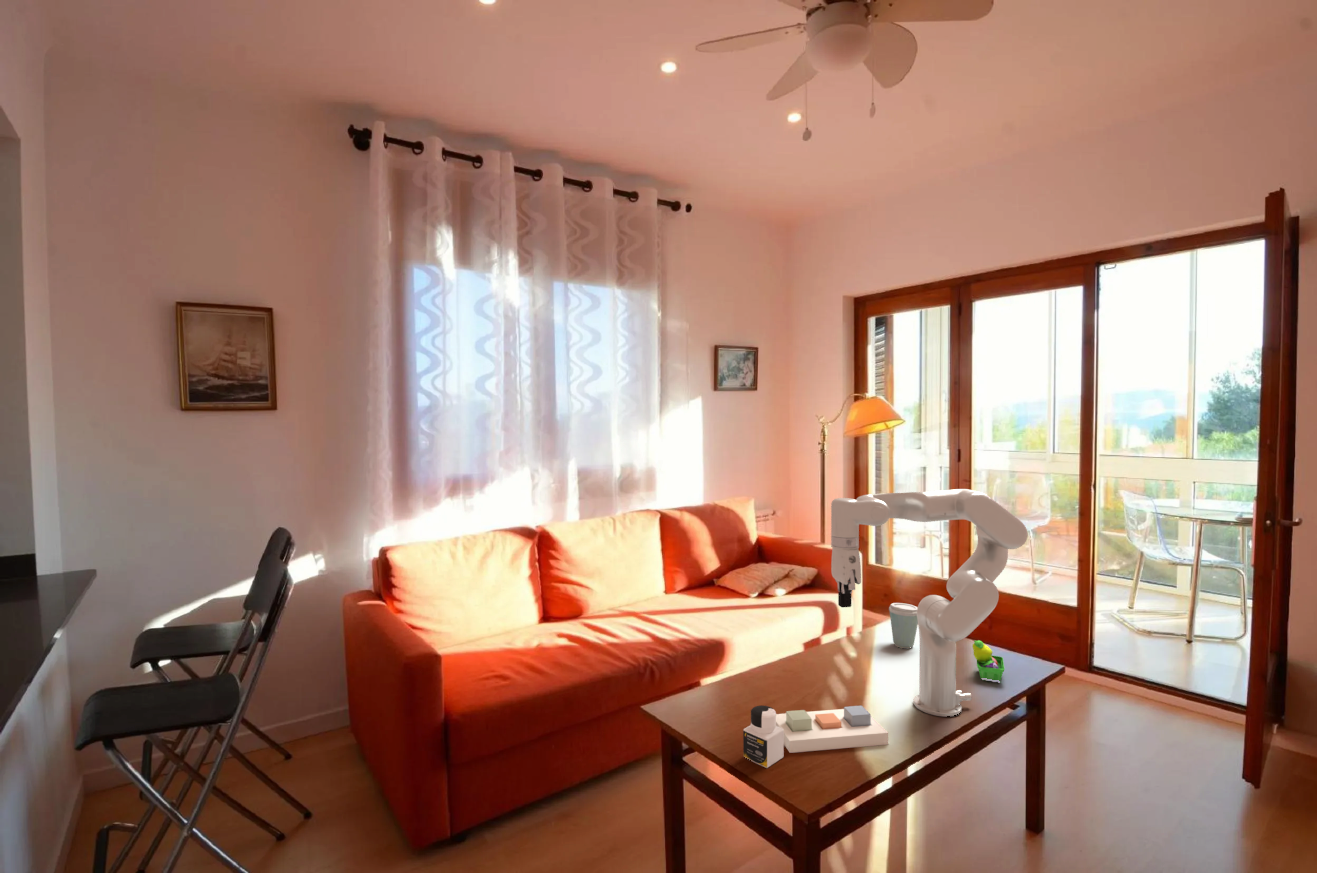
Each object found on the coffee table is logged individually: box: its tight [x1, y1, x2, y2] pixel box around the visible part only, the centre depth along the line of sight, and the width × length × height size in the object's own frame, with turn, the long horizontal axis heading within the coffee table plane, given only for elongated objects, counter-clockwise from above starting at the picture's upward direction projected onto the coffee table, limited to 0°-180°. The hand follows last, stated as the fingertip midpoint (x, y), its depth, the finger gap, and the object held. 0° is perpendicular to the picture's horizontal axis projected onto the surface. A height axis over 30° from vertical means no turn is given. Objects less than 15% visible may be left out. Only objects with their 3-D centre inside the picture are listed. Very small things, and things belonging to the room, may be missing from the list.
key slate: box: [843, 705, 872, 727], centre depth 165 cm, size 5×5×4 cm
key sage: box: [785, 709, 812, 732], centre depth 163 cm, size 5×5×4 cm
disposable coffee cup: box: [888, 602, 918, 649], centre depth 227 cm, size 11×11×15 cm
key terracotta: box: [815, 713, 841, 729], centre depth 164 cm, size 5×5×4 cm
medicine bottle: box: [742, 705, 785, 769], centre depth 154 cm, size 7×7×12 cm
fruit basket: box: [972, 640, 1005, 682], centre depth 200 cm, size 11×9×11 cm
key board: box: [776, 708, 889, 754], centre depth 164 cm, size 26×14×3 cm, turn 98°
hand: (844, 606), depth 179 cm, fingers closed
